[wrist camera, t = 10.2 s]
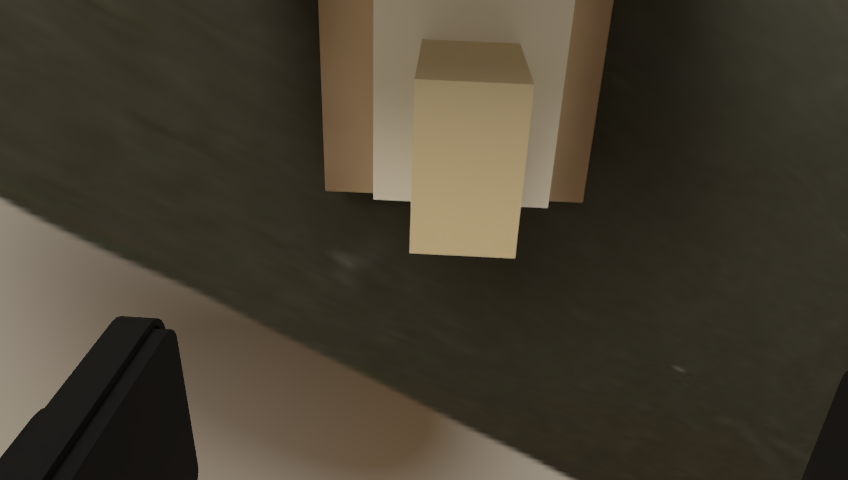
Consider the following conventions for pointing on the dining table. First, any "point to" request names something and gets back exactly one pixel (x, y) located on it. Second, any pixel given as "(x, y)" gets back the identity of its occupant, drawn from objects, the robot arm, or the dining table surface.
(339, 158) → the wooden l-shaped stand
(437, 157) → the beige and white blocks
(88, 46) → the dining table surface
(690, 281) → the dining table surface
